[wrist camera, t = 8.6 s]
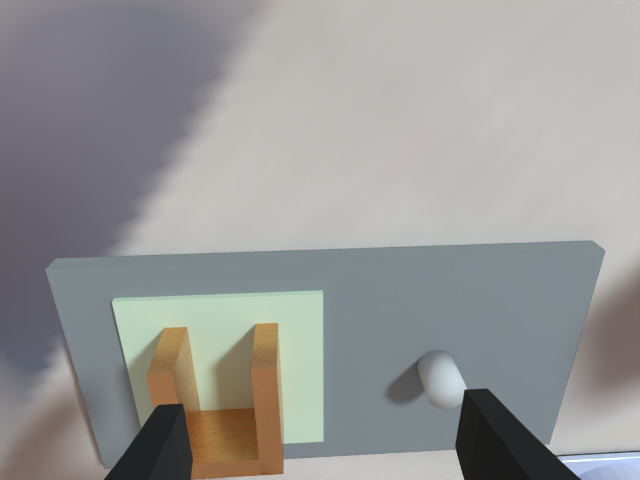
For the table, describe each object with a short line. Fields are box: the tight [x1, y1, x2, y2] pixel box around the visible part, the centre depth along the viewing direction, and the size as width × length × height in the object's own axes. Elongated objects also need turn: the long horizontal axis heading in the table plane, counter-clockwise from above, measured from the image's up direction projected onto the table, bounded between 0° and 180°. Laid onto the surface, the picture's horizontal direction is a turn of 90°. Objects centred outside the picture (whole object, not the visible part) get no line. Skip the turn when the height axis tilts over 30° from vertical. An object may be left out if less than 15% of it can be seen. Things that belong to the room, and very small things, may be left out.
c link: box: [146, 323, 284, 479], centre depth 21 cm, size 6×5×3 cm
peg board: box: [45, 241, 605, 469], centre depth 22 cm, size 12×24×3 cm, turn 90°
